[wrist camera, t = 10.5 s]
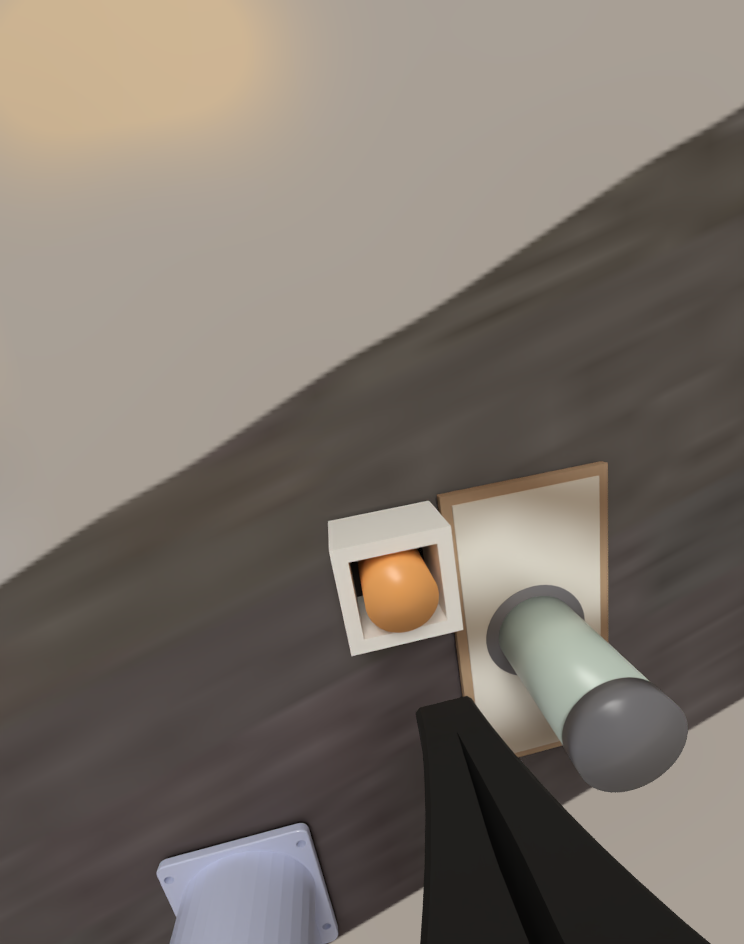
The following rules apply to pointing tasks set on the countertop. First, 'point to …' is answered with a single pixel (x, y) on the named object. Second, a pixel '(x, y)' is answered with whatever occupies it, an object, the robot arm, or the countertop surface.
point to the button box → (385, 537)
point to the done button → (398, 590)
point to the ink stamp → (592, 697)
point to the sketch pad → (525, 579)
